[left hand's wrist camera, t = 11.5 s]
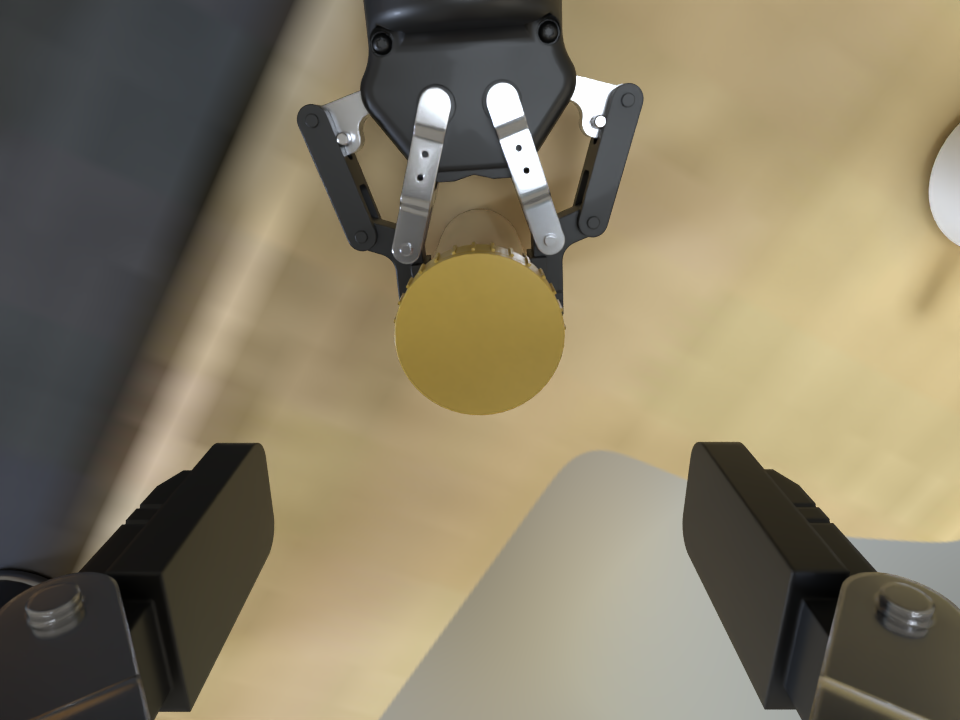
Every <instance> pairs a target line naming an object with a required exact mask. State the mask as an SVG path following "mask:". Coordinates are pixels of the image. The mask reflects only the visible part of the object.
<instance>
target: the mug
mask: <svg viewBox="0 0 960 720" xmlns="http://www.w3.org/2000/svg"><path fill="white" fill-rule="evenodd" d="M929 202H930V208H931V212H932V215H933V217H934V220H935V221H936V223H937V225H938V227H939V228H940V230H941V231H942V232H943V233H944V235H945V236H946V237H947V238H949V239H950V240H951V241H952V242H954V243H955V244H957V245H958V246H960V123H959V124H958V125H957V126H956V128H955V129H954V130H953V131H952V132H951V134H950V135H949V136H948V138H947V139H946V141H945V142H944V144H943V146H942V147H941V149H940V151H939V153H938V155H937V157H936V160H935V162H934V165H933V168H932V172H931V176H930V182H929Z"/></svg>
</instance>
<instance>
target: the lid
mask: <svg viewBox="0 0 960 720" xmlns="http://www.w3.org/2000/svg"><path fill="white" fill-rule="evenodd" d="M406 288H407V291H406V293H405V294H404V293H403V294H402V296H401V298H400V300H399V302H398V305H400V306H399V309H398V312H397V314H396V317H395V319H394V323H395V329H394V341H395V347H396V352H397V355H398V359H399V362H400V364H401V366H402V368H403V371H404V372H405V374H406V376H407V377H408V379H409V380H410V381H411V383H412V384H413V385H414V386H415V388H416V389H418V390H419V391H420V392H421V393H422V394H423V395H424V396H425V397H427V398H428V399H429V400H431V401H432V402H434V403H436V404H438V405H439V406H441V407H444V408H446V409H449V410H451V411H455V412H458V413H463V414H469V415H490V414H496V413H501V412H505V411H508V410H511V409H513V408H515V407H517V406H520V405H522V404H523V403H525V402H527V401H528V400H530V399H531V398H532V397H534V396H535V395H536V394H537V393H538V392H540V391H541V390H542V388H543V387H544V386H545V385H546V384H547V383H548V381H549V380H550V379H551V377H552V376H553V374H554V372H555V370H556V368H557V367H558V364H559V362H560V359H561V356H562V352H563V348H564V338H565V331H564V330H565V329H566V327H565V324H564V321H563V316H562V311H563V308H562V306H561V304H560V302H559V299H558V300H557V299H556V297H555V294H557V293H556V291H555V289H554V287H553V285H552V283H550V284H549V283H548V281H547V280H546V277H545V275H544V272H543V270H542V269H541V268H540V269H538V268H537V267H536V266H535V265H533V264H532V263H531V262H530V259H529V257H527V256H526V257H525V258H524V257H523V256H521V255H520V254H518V253H516V252H513V249H512V248H510V247H509V249H506V248H503V247H499V246H495V245H494V243H491V245H488V244H475V242H472V245H465V246H460V247H457V245H454V246H453V249H451V250H448V251H445V252H443V253H442V254H440V253H439V252H438V253H436V255H435V258H433V259H432V260H431V261H429V262H428V263H427V264H426V265H425V264H424V263H423V264H422V265H421V267H420V269H419V271H418V273H417V274H416V276H415V277H414V278H412V277H411V278H410V280H409V282H408V284H407V286H406Z"/></svg>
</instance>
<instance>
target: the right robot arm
mask: <svg viewBox="0 0 960 720" xmlns="http://www.w3.org/2000/svg"><path fill="white" fill-rule="evenodd" d="M364 9H365V18H366V27H367V36H368V45H369V56H368V63H367V67H366V70H365V73H364V75H363V78H362V81H361V86H360V91H358V92H355V93H353V94H350V95H348V96H345V97H343V98H340V99H338V100H335V101H333V102H330V103H328V104H326V105H323V106H320V105H314V104H308V105H305V106H304V107H302V108H301V109H300V111H299V112H298V115H297V123H298V126H299V129H300V131H301V133H302V136H303V138H304V140H305V143H306V145H307V147H308V149H309V152H310V154H311V156H312V159H313V161H314V163H315V166H316V168H317V170H318V173H319V175H320V177H321V179H322V182H323V184H324V186H325V189H326V191H327V193H328V196H329V198H330V200H331V203H332V205H333V207H334V210H335V212H336V214H337V216H338V219H339V221H340V223H341V226H342V228H343V230H344V233H345V235H346V237H347V240H348V242H349V244H350V245H351V246H352V247H353V248H354V249H356V250H358V251H367V250H368V251H371V252H375V253H378V254H382V255H384V256H386V257H388V258H389V259H390V260H391V261H392V262H393V264H394V266H395V268H396V275H397V284H398V293H399V300H400V298H401V296H402V294H403V293H404V294H405V293H406V291H407V288H406V286H407V284H408V282H409V280H410V278H411V277H412V278H414V277H415V276H416V274H417V273H418V271H419V269H420V267H421V265H422V264H423V263H424V264H425V265H426V264H427V263H428V262H429V261H431V255H426V251H425V242H426V238H427V233H428V228H429V224H430V219H431V215H432V210H433V206H434V202H435V198H436V194H437V189H438V185H439V182H451V181H457V180H460V179H462V178H465V177H468V176H471V175H478V176H483V177H488V178H493V179H496V178H511V180H512V182H513V185H514V188H515V191H516V194H517V196H518V199H519V201H520V204H521V207H522V210H523V213H524V215H525V218H526V221H527V224H528V227H529V229H530V232H531V249H527V257H529V259H530V262H531V263H532V264H533V265H535V266H536V267H537V268H538V269H540V268H541V269H542V270H543V272H544V275H545V277H546V280H547V281H548V283H549V284H550V283H552V285H553V287H554V289H555V291H556V293H557V294H555V297H556V299H557V300H558V299H559V302H560V304H561V306H562V308H563V268H562V259H563V255H564V252H565V250H566V249H567V248H568V247H569V246H570V245H571V244H573V243H575V242H577V241H580V240H582V239H584V238H587V237H597V236H599V235H601V234H602V233H603V232H604V231H605V230H606V228H607V225H608V222H609V218H610V215H611V211H612V208H613V205H614V201H615V198H616V194H617V191H618V187H619V184H620V180H621V177H622V174H623V170H624V167H625V163H626V160H627V156H628V153H629V149H630V146H631V143H632V139H633V136H634V132H635V129H636V125H637V122H638V118H639V115H640V112H641V108H642V105H643V93H642V91H641V89H640V88H639V87H638V86H637V85H635V84H632V83H626V84H620V85H613V84H609V83H605V82H601V81H597V80H593V79H589V78H585V77H581V76H577V75H576V71H575V68H574V65H573V63H572V61H571V60H570V58H569V56H568V54H567V51H566V49H565V45H564V42H563V35H562V0H364ZM569 102H572V103H573V104H574V105H575V106H576V107H577V108H578V111H579V127H580V130H581V132H582V133H583V134H584V135H585V136H587V137H591V140H590V144H589V148H588V151H587V155H586V159H585V162H584V166H583V170H582V174H581V177H580V181H579V185H578V188H577V192H576V196H575V200H574V203H573V207H571V208H569V209H566V210H564V211H562V212H560V213H556V210H555V207H554V204H553V201H552V198H551V194H550V190H549V187H548V184H547V181H546V178H545V175H544V172H543V169H542V166H541V163H540V160H539V157H538V154H537V152H538V151H539V149H540V148H541V146H542V144H543V143H544V141H545V140H546V138H547V136H548V135H549V133H550V132H551V130H552V129H553V127H554V125H555V124H556V122H557V121H558V119H559V117H560V116H561V114H562V113H563V111H564V109H565V108H566V106H567V105H568V103H569ZM370 115H371V117H372V118H373V119H374V120H375V121H376V123H377V124H378V125H379V126H380V127H381V129H382V130H383V131H384V132H385V134H386V135H387V136H388V137H389V138H390V140H391V141H392V142H393V143H394V144H395V146H396V147H397V148H398V149H399V150H400V152H401V153H402V154H403V155H404V157H405V158H406V159H407V160H408V163H407V168H406V173H405V178H404V183H403V188H402V193H401V199H400V209H399V215H398V220H397V224H396V223H392V222H389V221H386V220H382V219H381V216H380V214H379V211H378V209H377V207H376V204H375V202H374V199H373V197H372V194H371V192H370V189H369V187H368V185H367V182H366V180H365V177H364V175H363V172H362V170H361V167H360V165H359V163H358V160H357V158H356V155H355V153H357V152H359V151H360V150H361V149H362V147H363V145H364V141H365V138H364V133H363V125H364V122H365V120H366V119H367V118H368V117H369V116H370ZM562 316H563V311H562Z"/></svg>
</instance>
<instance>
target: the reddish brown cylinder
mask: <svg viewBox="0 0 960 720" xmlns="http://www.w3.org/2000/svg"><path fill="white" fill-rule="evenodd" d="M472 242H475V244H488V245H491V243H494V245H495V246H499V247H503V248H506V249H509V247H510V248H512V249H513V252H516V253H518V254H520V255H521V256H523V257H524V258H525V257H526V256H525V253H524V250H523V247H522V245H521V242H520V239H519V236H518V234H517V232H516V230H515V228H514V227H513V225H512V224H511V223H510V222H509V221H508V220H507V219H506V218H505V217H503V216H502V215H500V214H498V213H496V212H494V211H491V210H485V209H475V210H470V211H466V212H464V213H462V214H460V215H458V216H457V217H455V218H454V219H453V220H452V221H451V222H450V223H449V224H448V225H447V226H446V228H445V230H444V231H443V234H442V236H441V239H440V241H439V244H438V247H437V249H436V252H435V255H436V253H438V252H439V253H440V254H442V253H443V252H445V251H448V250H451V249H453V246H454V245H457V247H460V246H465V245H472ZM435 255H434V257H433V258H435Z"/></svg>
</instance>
